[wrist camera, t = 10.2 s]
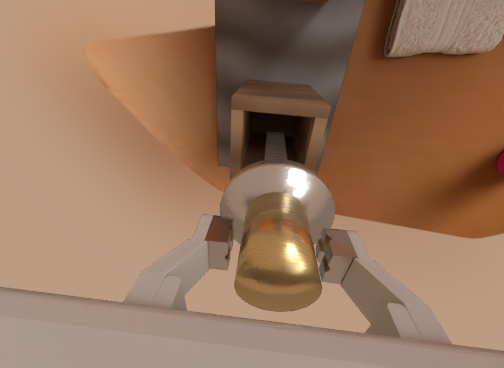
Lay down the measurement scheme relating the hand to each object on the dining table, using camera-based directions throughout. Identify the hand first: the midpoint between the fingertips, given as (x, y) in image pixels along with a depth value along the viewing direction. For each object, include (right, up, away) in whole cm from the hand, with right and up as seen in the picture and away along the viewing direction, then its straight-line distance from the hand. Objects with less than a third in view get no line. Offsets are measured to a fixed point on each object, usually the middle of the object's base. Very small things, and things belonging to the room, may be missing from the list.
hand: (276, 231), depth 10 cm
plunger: (+1, +7, +10) cm, 12 cm away
